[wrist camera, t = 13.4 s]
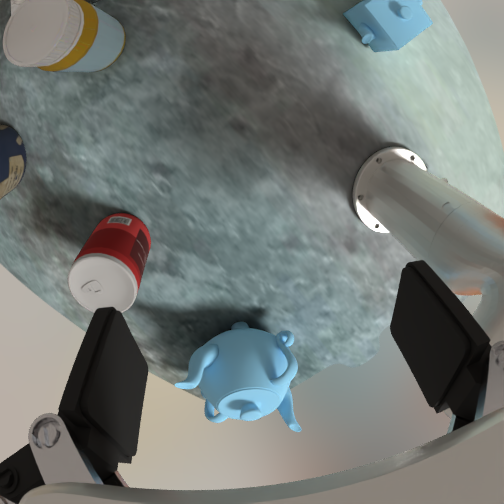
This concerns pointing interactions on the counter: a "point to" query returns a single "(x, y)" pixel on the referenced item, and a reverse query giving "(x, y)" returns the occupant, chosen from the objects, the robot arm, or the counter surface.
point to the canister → (11, 159)
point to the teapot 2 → (388, 22)
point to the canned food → (111, 264)
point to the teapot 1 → (245, 374)
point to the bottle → (62, 36)
